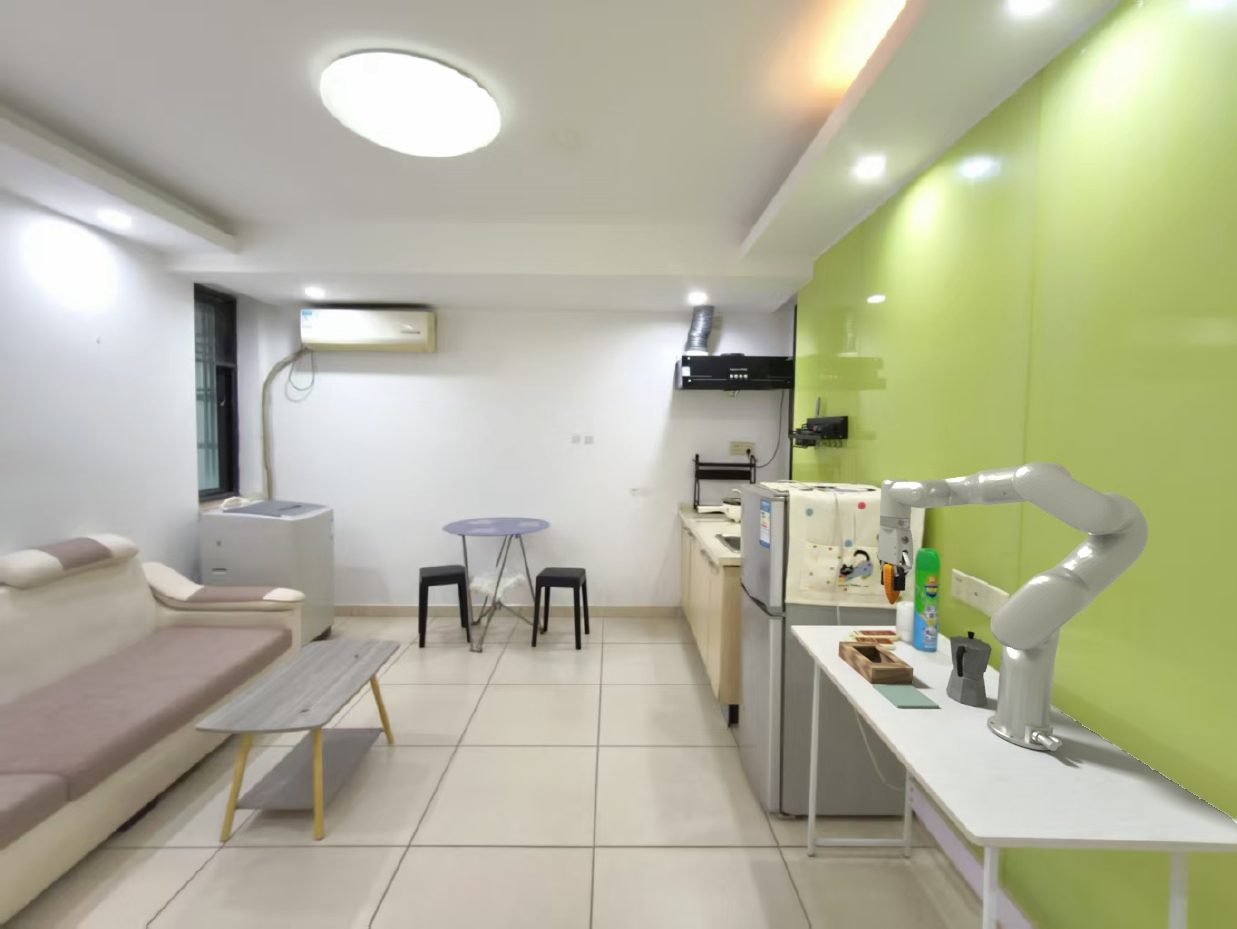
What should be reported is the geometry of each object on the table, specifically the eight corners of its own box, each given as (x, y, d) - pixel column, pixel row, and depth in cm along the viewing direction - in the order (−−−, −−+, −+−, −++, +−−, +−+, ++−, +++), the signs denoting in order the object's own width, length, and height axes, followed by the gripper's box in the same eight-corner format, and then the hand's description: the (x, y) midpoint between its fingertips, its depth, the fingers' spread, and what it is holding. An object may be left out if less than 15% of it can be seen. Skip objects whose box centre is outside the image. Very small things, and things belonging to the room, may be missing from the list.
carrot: (884, 600, 144) (886, 548, 144) (903, 604, 141) (905, 551, 141) (879, 604, 140) (881, 551, 140) (899, 608, 137) (901, 553, 137)
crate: (912, 684, 140) (913, 668, 140) (871, 683, 139) (872, 667, 139) (875, 656, 158) (876, 642, 157) (838, 655, 157) (839, 641, 157)
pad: (938, 708, 127) (938, 705, 127) (897, 707, 126) (897, 705, 126) (910, 686, 138) (910, 684, 138) (872, 686, 137) (872, 684, 137)
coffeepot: (954, 684, 141) (959, 621, 140) (994, 698, 134) (1000, 632, 133) (933, 700, 131) (938, 632, 130) (976, 716, 124) (982, 645, 123)
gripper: (928, 527, 132) (925, 596, 132) (890, 519, 149) (888, 580, 149) (900, 527, 131) (897, 596, 132) (865, 518, 148) (863, 580, 149)
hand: (892, 587), depth 140 cm, fingers closed on carrot, 5 cm apart
